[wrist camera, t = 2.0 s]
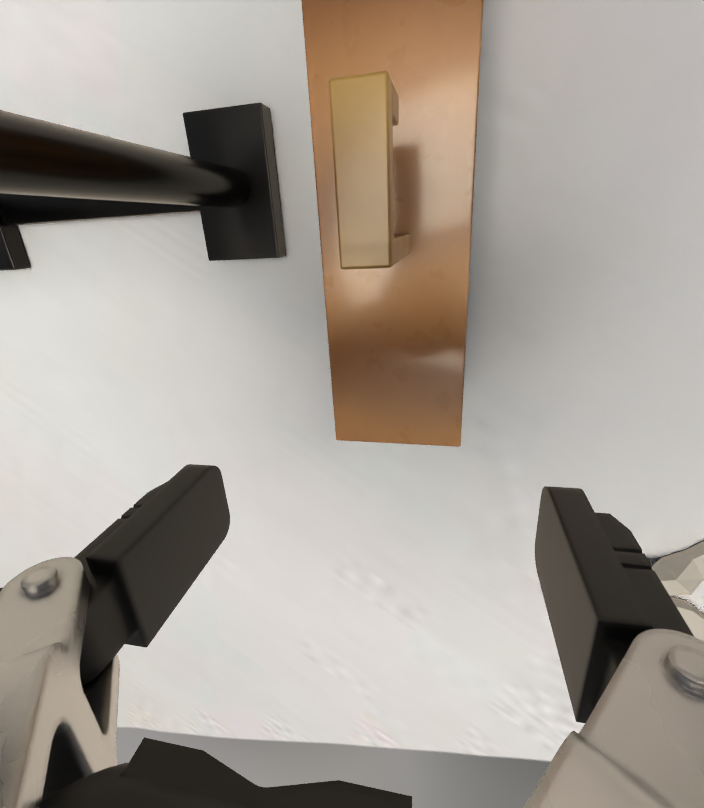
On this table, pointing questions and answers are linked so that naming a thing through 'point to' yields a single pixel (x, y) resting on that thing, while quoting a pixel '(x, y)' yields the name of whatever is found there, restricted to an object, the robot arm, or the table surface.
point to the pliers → (684, 582)
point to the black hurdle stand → (145, 180)
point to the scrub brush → (395, 207)
